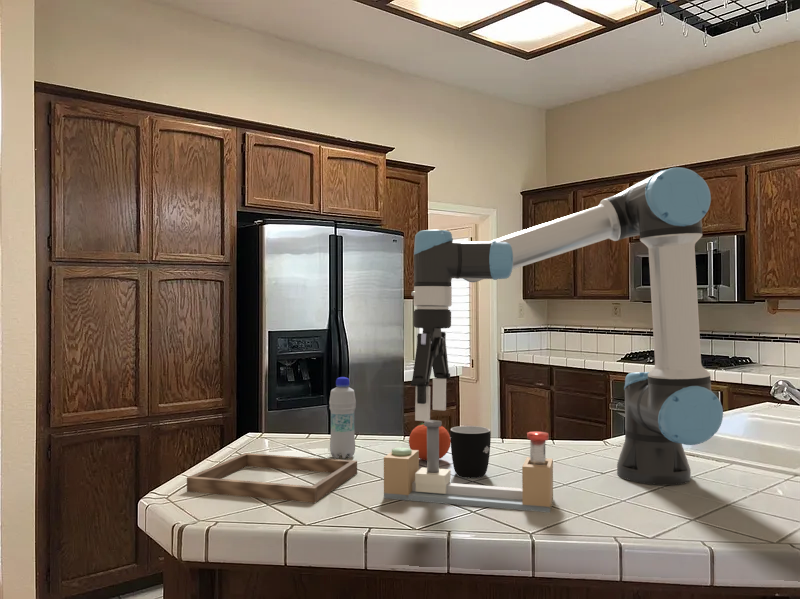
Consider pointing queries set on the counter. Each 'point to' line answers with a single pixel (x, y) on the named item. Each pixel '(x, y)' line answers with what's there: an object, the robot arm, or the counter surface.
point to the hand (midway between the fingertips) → (431, 415)
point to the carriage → (432, 464)
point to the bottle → (342, 419)
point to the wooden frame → (215, 485)
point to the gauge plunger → (537, 447)
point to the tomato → (420, 441)
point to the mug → (470, 450)
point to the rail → (470, 486)
